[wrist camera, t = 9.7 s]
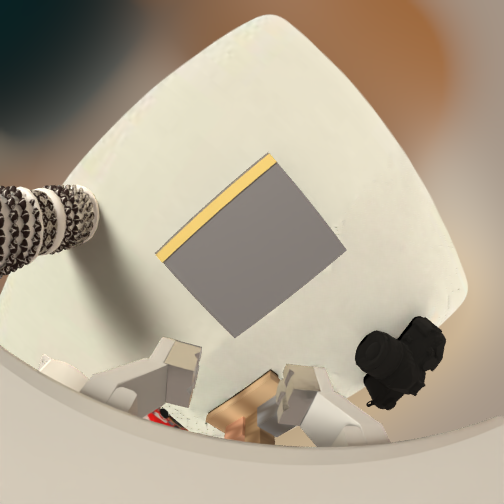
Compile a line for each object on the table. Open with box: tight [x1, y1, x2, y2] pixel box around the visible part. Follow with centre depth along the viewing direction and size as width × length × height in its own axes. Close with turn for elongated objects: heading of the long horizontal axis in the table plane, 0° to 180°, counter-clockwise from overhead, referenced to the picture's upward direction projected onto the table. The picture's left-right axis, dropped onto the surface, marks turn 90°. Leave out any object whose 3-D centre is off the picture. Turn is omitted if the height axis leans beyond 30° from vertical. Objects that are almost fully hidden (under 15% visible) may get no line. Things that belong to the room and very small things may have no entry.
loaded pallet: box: [206, 369, 280, 445], centre depth 33 cm, size 14×10×12 cm
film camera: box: [355, 316, 446, 410], centre depth 32 cm, size 15×10×9 cm, turn 146°
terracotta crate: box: [224, 417, 245, 442], centre depth 35 cm, size 4×4×4 cm
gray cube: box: [257, 395, 296, 437], centre depth 34 cm, size 4×4×4 cm
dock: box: [155, 153, 346, 338], centre depth 31 cm, size 17×14×3 cm
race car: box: [143, 407, 188, 431], centre depth 37 cm, size 13×5×4 cm, turn 36°
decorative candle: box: [0, 185, 100, 278], centre depth 20 cm, size 9×9×25 cm
